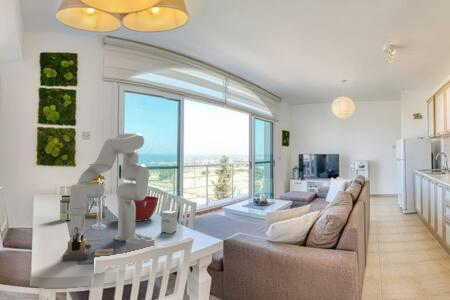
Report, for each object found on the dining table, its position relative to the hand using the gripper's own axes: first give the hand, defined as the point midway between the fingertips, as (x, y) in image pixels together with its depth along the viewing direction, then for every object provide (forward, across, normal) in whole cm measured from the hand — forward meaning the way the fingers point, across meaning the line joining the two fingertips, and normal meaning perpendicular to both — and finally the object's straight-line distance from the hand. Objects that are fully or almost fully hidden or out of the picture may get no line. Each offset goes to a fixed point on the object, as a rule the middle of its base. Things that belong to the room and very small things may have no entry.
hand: (77, 247), depth 139 cm
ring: (+1, 0, 0) cm, 1 cm away
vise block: (+4, 0, 0) cm, 4 cm away
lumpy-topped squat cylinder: (+5, +3, +28) cm, 29 cm away
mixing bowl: (+5, -73, +28) cm, 79 cm away
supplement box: (+4, -34, +46) cm, 57 cm away
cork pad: (+4, -2, +12) cm, 12 cm away
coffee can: (+4, -83, -21) cm, 86 cm away
